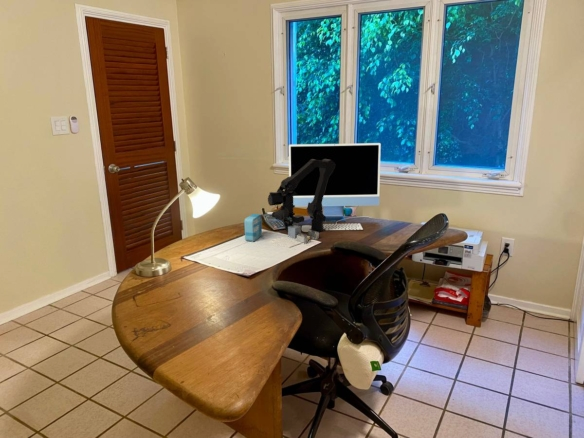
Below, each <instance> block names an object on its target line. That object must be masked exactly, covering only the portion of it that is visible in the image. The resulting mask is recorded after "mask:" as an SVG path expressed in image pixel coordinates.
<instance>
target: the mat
mask: <svg viewBox="0 0 584 438" xmlns="http://www.w3.org/2000/svg"><path fill="white" fill-rule="evenodd" d="M269 243H271V244H276V245H277V246H279V245H280V246H282V247H286V248H289V249H290V248H293V247H296V246H299V245H300V244H303V243H302V242H298V241H297V240H293V239H291V238H287V237H283V236H281V237H278V238H274V239H271V240H269ZM298 244H299V245H298Z"/></svg>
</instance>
